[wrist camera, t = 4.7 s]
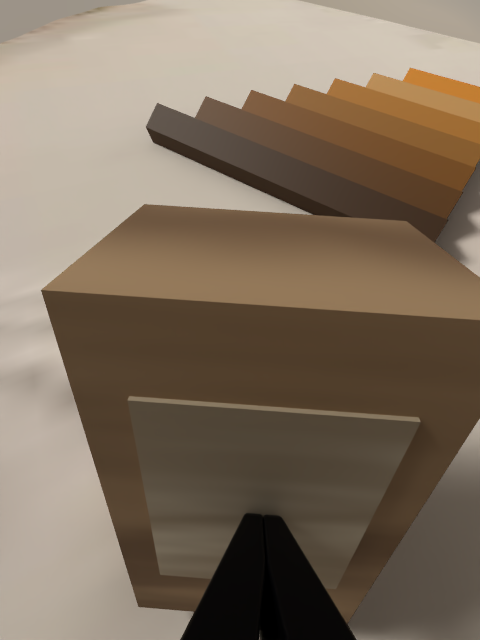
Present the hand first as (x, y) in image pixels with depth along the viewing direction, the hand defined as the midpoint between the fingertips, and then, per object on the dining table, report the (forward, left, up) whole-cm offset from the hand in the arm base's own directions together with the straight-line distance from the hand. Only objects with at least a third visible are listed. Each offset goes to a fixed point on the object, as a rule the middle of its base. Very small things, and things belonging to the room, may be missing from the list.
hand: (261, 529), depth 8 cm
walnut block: (0, 0, -7) cm, 7 cm away
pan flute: (+33, -7, -9) cm, 35 cm away
